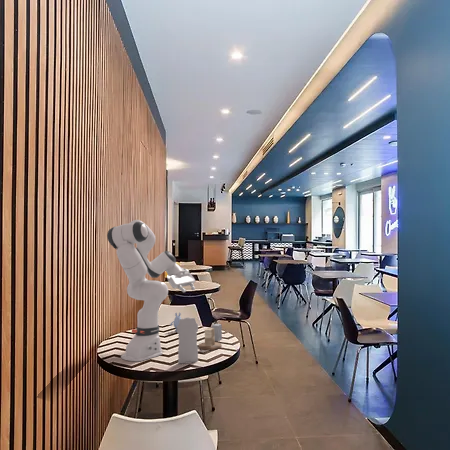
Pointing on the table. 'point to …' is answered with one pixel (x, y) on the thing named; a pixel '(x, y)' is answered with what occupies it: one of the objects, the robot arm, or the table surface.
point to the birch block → (209, 337)
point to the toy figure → (176, 321)
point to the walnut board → (214, 347)
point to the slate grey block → (217, 331)
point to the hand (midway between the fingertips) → (189, 290)
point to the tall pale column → (187, 340)
